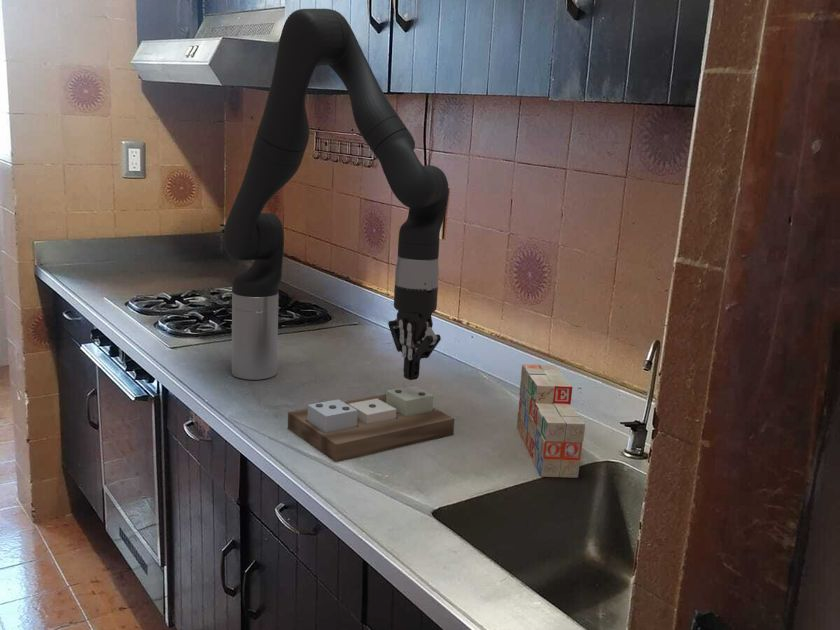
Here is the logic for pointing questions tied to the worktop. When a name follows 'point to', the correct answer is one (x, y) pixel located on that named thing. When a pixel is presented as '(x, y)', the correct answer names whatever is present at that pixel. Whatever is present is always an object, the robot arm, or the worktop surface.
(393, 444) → the key panel
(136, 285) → the worktop surface
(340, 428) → the key
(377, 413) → the key
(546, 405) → the stack of blocks
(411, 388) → the key
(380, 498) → the worktop surface
